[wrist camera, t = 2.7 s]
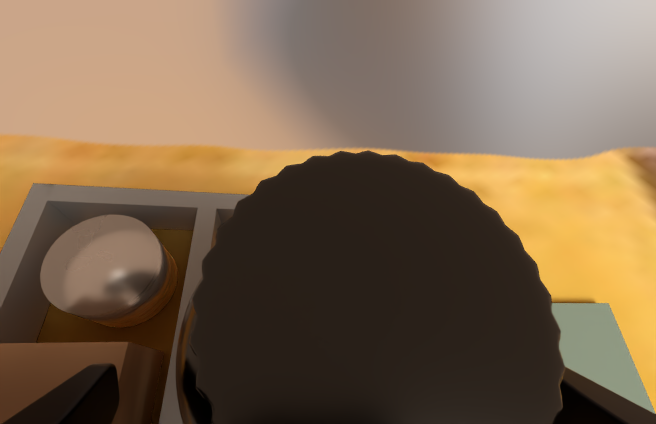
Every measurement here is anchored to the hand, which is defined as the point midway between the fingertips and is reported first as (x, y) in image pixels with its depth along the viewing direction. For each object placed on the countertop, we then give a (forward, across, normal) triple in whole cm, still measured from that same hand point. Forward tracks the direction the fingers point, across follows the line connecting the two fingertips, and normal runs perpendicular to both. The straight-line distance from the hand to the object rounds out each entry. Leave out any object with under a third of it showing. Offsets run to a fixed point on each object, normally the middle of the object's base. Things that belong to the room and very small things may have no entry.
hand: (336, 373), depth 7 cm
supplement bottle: (+6, 0, +5) cm, 8 cm away
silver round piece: (+9, +8, +3) cm, 12 cm away
